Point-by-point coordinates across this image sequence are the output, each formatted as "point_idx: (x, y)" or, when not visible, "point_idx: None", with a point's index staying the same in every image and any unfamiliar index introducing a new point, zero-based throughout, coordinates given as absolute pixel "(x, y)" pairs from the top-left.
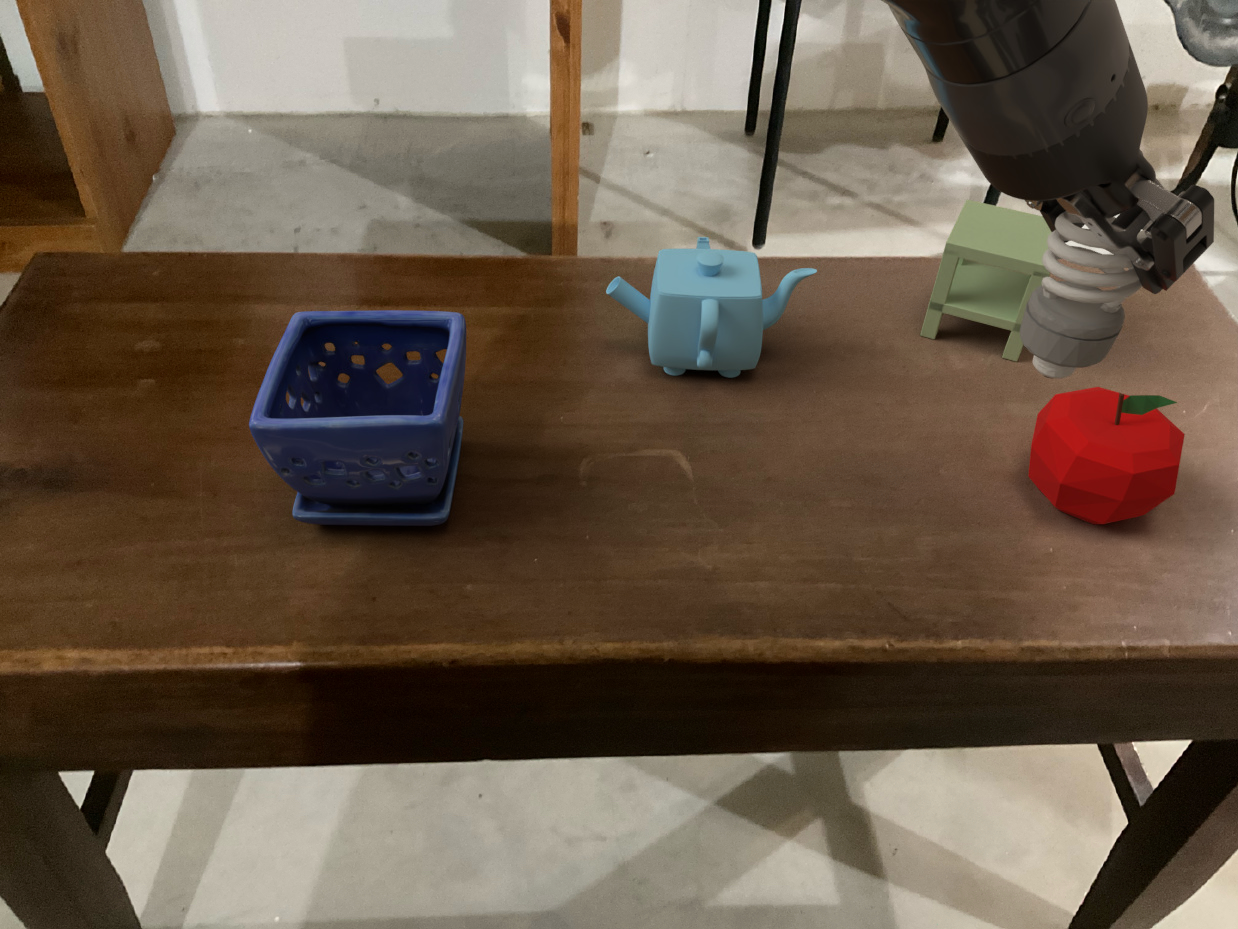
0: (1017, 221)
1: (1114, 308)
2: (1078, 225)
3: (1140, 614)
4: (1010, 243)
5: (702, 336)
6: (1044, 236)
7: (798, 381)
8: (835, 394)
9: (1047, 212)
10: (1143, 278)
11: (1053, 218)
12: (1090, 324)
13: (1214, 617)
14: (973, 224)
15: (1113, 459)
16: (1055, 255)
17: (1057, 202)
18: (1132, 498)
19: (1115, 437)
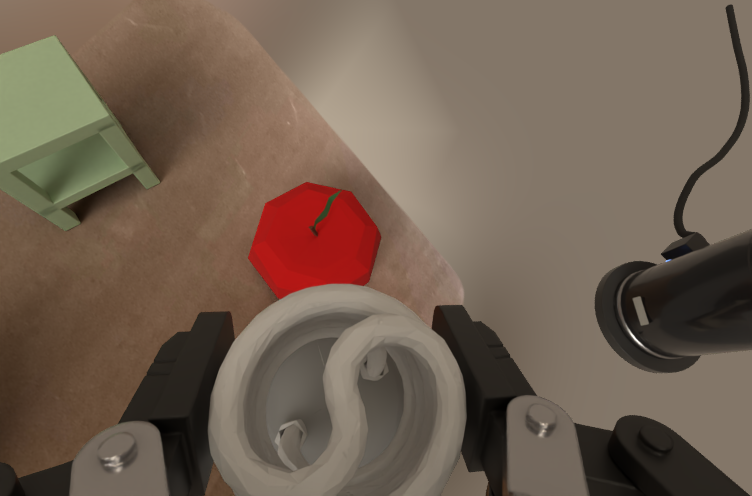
0: (12, 73)
1: (385, 373)
2: (230, 344)
3: (428, 322)
4: (39, 115)
5: None
6: (58, 75)
7: (29, 404)
8: (77, 378)
9: (196, 493)
10: None
11: (211, 460)
12: (393, 436)
13: (449, 277)
14: None
15: (350, 275)
16: (272, 456)
17: (194, 470)
18: (371, 272)
19: (331, 253)
